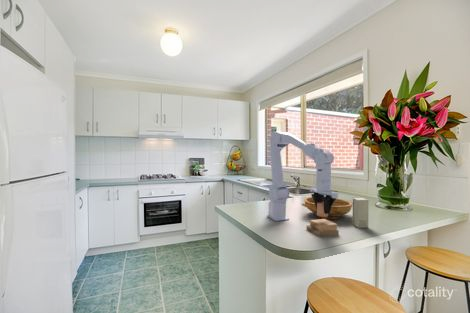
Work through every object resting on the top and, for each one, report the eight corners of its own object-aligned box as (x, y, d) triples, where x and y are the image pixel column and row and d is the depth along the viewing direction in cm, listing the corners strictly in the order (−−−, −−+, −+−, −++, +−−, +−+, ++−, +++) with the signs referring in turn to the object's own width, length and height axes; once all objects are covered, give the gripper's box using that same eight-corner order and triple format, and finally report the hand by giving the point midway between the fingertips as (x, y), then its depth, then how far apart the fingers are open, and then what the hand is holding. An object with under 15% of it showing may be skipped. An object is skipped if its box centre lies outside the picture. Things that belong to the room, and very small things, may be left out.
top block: (310, 225, 96) (310, 220, 96) (324, 224, 98) (324, 218, 98) (321, 231, 89) (321, 225, 89) (336, 230, 91) (336, 224, 91)
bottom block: (306, 231, 97) (306, 225, 97) (323, 229, 100) (323, 223, 100) (320, 238, 88) (320, 232, 88) (338, 236, 91) (338, 230, 91)
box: (362, 224, 104) (363, 197, 104) (368, 228, 100) (369, 199, 100) (351, 224, 104) (352, 197, 104) (357, 228, 100) (357, 199, 99)
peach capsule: (314, 214, 95) (314, 202, 95) (323, 213, 96) (323, 202, 96) (321, 217, 91) (321, 205, 91) (330, 216, 92) (330, 204, 92)
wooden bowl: (315, 224, 104) (316, 207, 104) (291, 211, 128) (291, 197, 128) (368, 220, 111) (368, 205, 111) (335, 208, 134) (336, 195, 134)
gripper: (304, 178, 99) (304, 208, 99) (328, 182, 85) (327, 217, 86) (317, 177, 101) (317, 207, 102) (342, 181, 88) (341, 215, 88)
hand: (322, 211), depth 94 cm, fingers closed on peach capsule, 4 cm apart
